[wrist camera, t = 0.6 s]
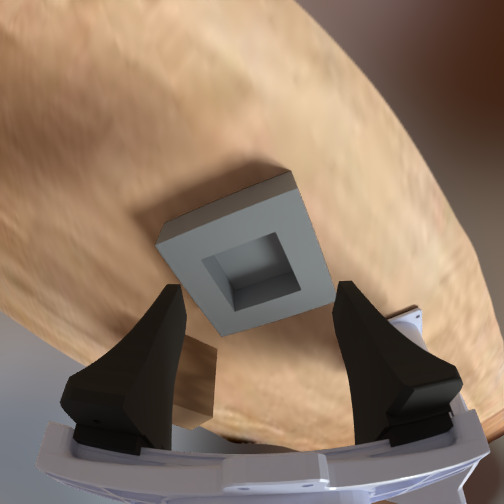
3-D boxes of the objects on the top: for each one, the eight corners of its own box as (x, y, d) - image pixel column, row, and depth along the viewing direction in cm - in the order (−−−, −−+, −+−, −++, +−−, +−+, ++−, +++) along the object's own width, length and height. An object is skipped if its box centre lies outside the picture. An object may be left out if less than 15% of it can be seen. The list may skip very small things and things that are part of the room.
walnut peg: (217, 349, 31) (212, 417, 25) (197, 366, 33) (190, 430, 27) (181, 332, 30) (169, 402, 23) (164, 352, 32) (151, 416, 25)
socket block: (330, 276, 26) (338, 300, 24) (223, 311, 28) (221, 336, 26) (291, 170, 21) (297, 187, 18) (164, 223, 23) (154, 245, 20)
